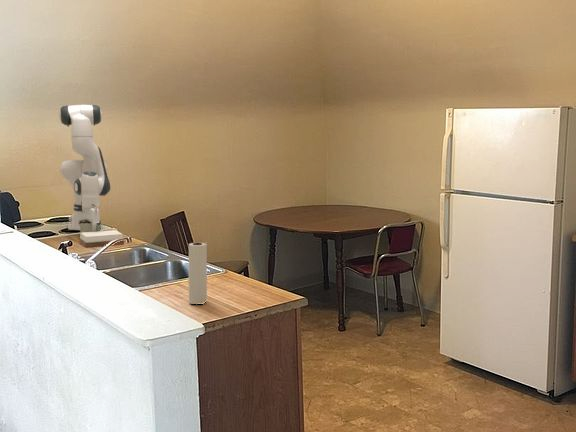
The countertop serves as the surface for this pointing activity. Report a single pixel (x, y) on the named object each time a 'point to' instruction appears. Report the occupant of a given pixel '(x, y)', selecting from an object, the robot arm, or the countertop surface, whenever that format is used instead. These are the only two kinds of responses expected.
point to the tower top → (100, 236)
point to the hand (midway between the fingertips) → (91, 229)
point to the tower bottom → (97, 243)
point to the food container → (88, 226)
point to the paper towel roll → (197, 273)
